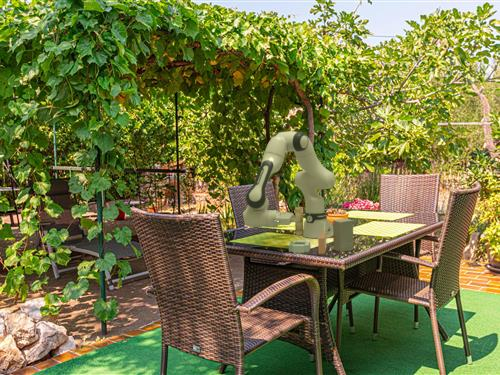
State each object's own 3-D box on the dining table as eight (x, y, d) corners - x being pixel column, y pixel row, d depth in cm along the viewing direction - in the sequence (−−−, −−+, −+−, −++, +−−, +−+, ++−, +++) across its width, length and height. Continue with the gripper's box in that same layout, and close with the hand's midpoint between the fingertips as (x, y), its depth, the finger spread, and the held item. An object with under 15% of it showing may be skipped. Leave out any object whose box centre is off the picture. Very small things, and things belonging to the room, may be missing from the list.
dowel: (298, 233, 262) (298, 206, 261) (304, 234, 260) (304, 207, 258) (293, 234, 259) (293, 207, 258) (300, 235, 256) (299, 207, 255)
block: (288, 252, 254) (288, 245, 254) (291, 247, 268) (291, 240, 268) (308, 252, 252) (308, 246, 252) (310, 247, 266) (310, 240, 266)
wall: (318, 254, 249) (318, 238, 249) (320, 247, 267) (320, 232, 266) (324, 254, 249) (324, 238, 248) (326, 247, 266) (326, 232, 266)
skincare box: (346, 248, 262) (346, 218, 261) (354, 251, 256) (354, 219, 255) (332, 250, 259) (332, 219, 258) (340, 252, 253) (339, 221, 251)
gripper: (270, 215, 251) (298, 215, 248) (276, 210, 271) (302, 210, 268) (271, 228, 251) (299, 228, 249) (276, 222, 271) (302, 222, 269)
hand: (301, 218), depth 259 cm, fingers closed on dowel, 4 cm apart
